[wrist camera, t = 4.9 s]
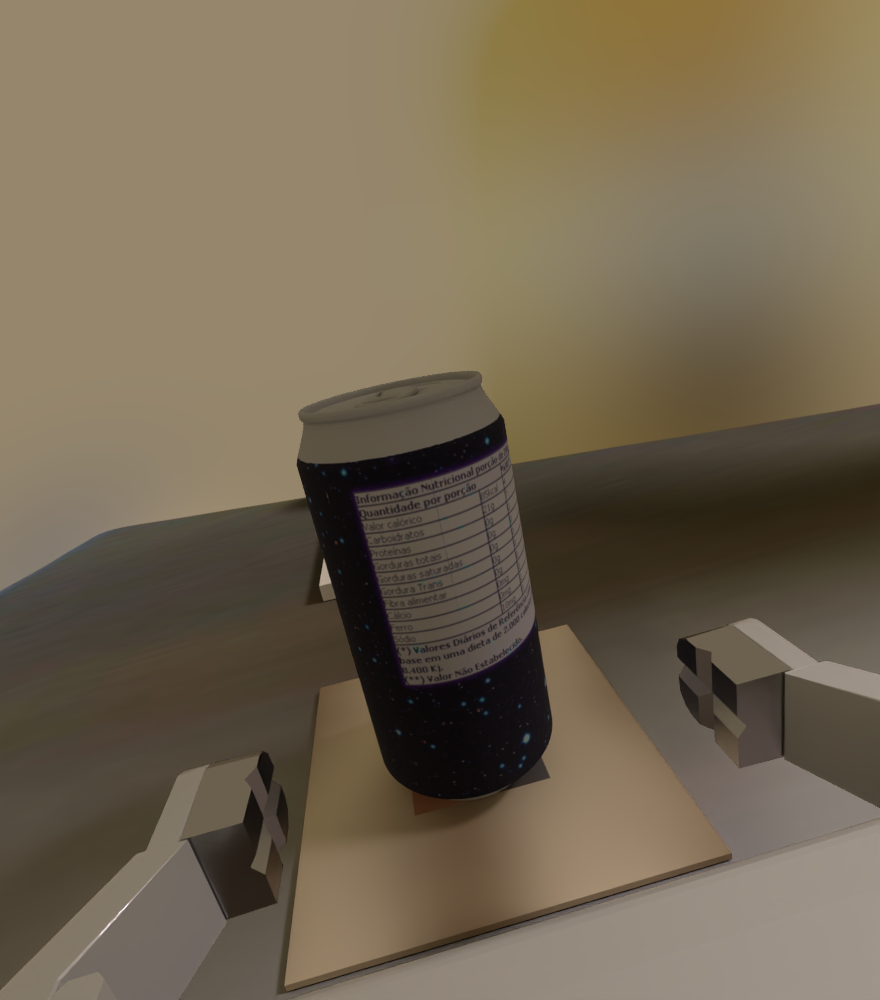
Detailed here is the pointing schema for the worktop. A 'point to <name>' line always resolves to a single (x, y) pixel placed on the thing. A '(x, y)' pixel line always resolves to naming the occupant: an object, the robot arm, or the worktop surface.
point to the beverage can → (431, 579)
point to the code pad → (483, 830)
